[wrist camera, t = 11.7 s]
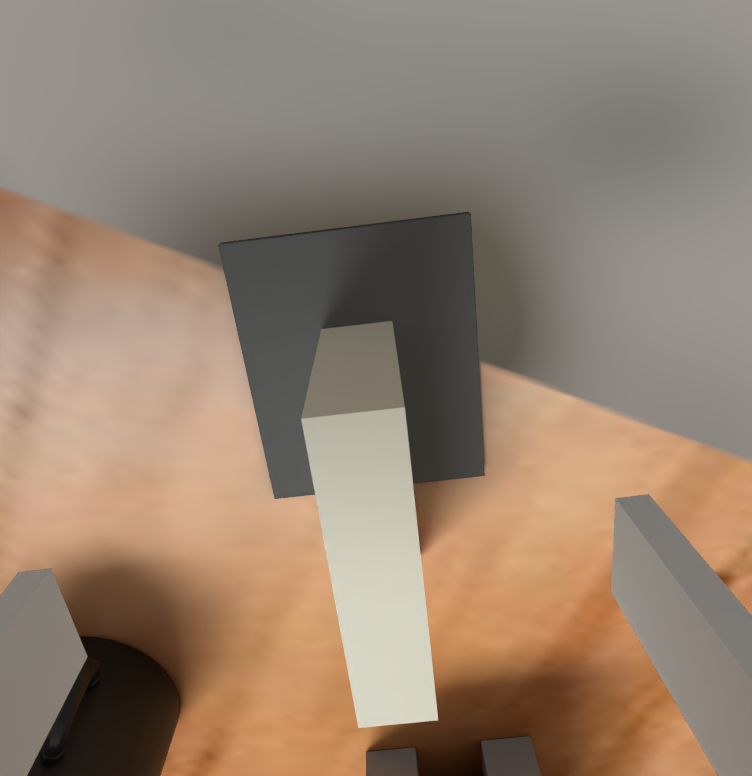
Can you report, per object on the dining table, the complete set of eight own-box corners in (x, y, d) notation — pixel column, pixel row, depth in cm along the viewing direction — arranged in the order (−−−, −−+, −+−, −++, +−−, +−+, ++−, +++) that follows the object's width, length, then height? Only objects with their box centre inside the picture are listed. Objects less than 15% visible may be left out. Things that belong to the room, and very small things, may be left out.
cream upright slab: (360, 573, 30) (357, 727, 22) (320, 329, 25) (300, 418, 17) (419, 566, 30) (438, 720, 22) (392, 320, 25) (405, 407, 17)
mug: (208, 623, 32) (153, 796, 23) (164, 764, 36) (104, 952, 28) (27, 579, 30) (-99, 746, 22) (4, 731, 35) (-108, 919, 27)
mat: (276, 493, 29) (274, 498, 28) (221, 242, 24) (218, 244, 23) (482, 470, 28) (484, 475, 28) (468, 211, 24) (470, 213, 23)
